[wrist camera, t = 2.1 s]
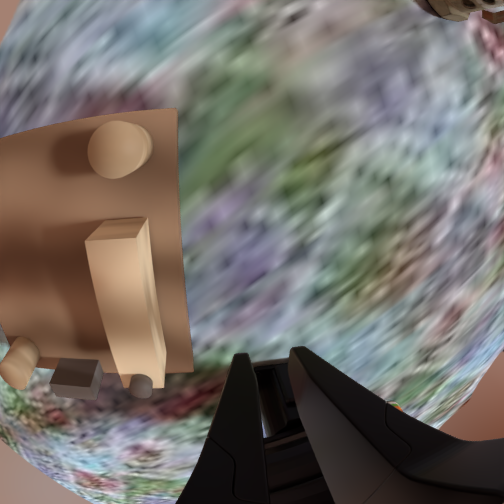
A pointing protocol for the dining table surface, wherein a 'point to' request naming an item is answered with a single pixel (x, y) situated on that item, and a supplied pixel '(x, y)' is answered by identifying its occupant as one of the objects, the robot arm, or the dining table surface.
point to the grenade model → (467, 9)
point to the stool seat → (73, 241)
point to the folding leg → (129, 302)
